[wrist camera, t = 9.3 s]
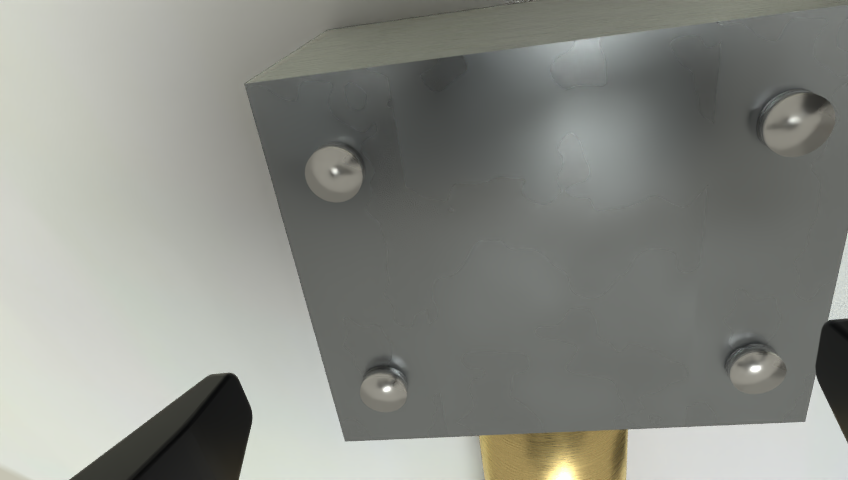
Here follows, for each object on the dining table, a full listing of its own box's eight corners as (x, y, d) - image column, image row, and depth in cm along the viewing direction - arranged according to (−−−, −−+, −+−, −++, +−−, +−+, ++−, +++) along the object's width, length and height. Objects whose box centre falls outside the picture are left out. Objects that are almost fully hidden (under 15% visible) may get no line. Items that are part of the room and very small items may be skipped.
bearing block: (327, 30, 18) (236, 87, 11) (730, -27, 16) (915, -1, 10) (382, 295, 23) (342, 452, 16) (701, 270, 21) (813, 433, 14)
